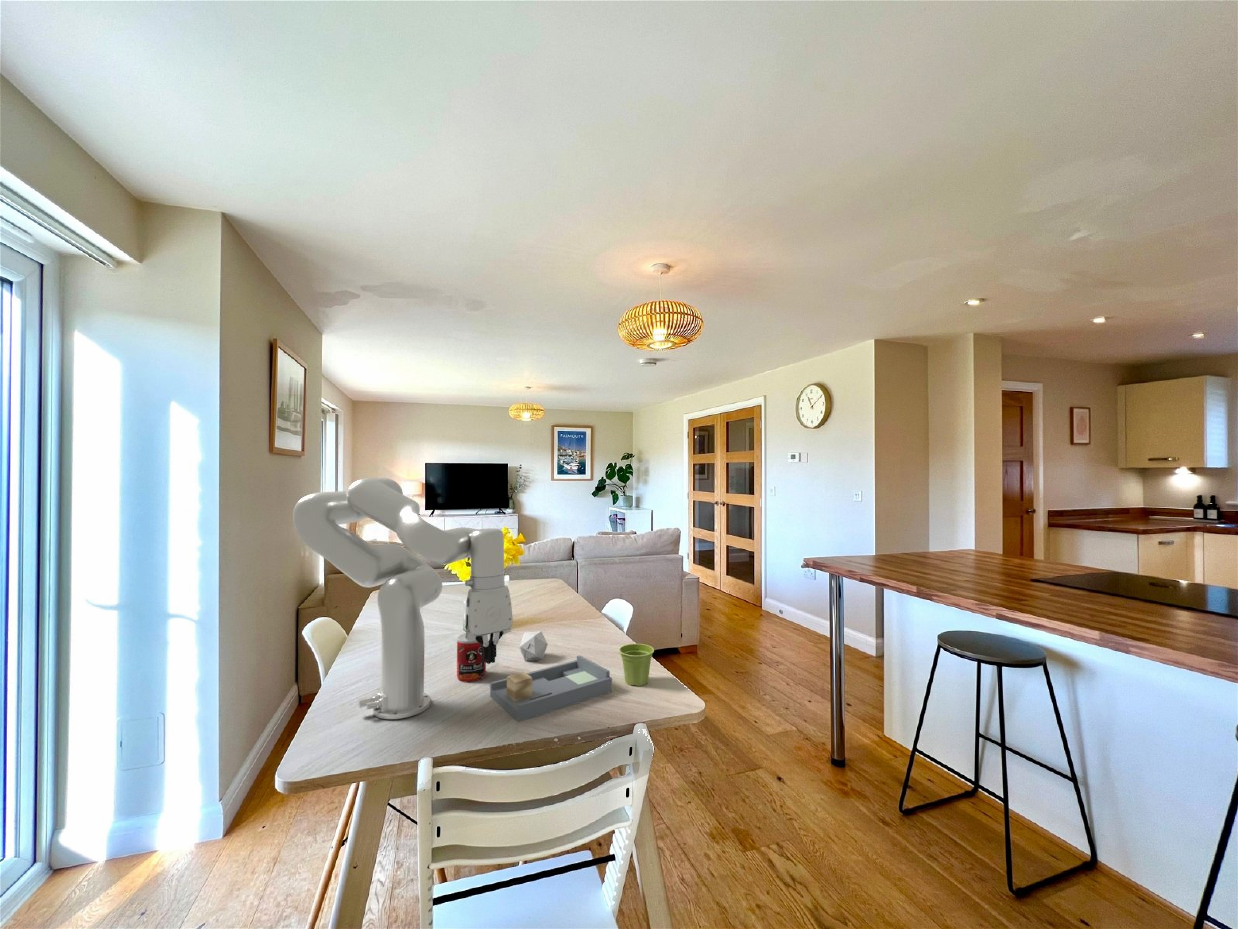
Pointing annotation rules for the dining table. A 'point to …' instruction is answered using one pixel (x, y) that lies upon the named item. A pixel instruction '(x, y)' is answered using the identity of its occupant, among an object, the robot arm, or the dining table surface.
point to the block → (519, 686)
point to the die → (533, 646)
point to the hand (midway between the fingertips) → (489, 661)
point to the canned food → (469, 660)
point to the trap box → (555, 688)
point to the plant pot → (636, 663)
